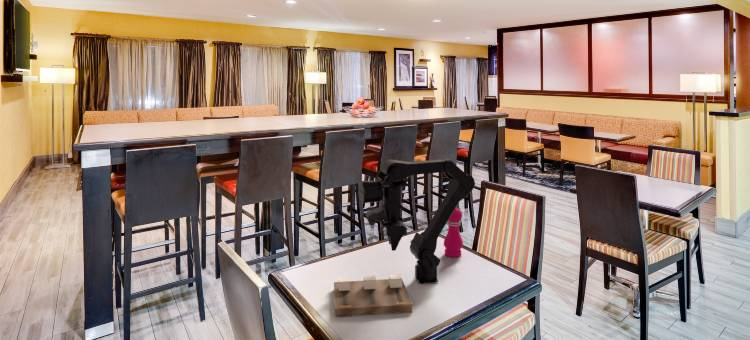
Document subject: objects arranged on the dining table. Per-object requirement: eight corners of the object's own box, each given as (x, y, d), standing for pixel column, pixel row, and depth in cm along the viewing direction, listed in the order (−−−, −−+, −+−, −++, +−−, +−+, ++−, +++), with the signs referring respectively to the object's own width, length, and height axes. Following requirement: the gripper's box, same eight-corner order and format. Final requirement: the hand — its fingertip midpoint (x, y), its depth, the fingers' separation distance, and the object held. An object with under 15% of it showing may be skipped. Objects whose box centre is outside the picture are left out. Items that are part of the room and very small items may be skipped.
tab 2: (375, 284, 137) (375, 275, 137) (376, 288, 134) (376, 279, 134) (363, 285, 137) (363, 276, 136) (364, 289, 134) (364, 280, 133)
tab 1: (349, 285, 136) (349, 276, 136) (350, 290, 133) (350, 281, 133) (338, 286, 136) (337, 277, 135) (338, 291, 133) (338, 281, 132)
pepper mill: (441, 256, 166) (442, 205, 162) (445, 249, 173) (447, 200, 169) (460, 259, 164) (462, 207, 160) (464, 252, 170) (465, 202, 166)
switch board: (401, 285, 143) (401, 278, 142) (412, 312, 126) (412, 304, 126) (334, 289, 140) (333, 281, 140) (335, 317, 124) (335, 308, 123)
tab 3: (400, 283, 138) (400, 274, 138) (401, 287, 135) (402, 278, 135) (389, 283, 138) (389, 274, 137) (390, 288, 135) (390, 278, 134)
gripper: (364, 193, 146) (364, 238, 149) (369, 209, 128) (370, 259, 131) (397, 192, 147) (397, 236, 150) (407, 208, 129) (407, 258, 132)
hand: (392, 247), depth 141 cm, fingers open, 5 cm apart
